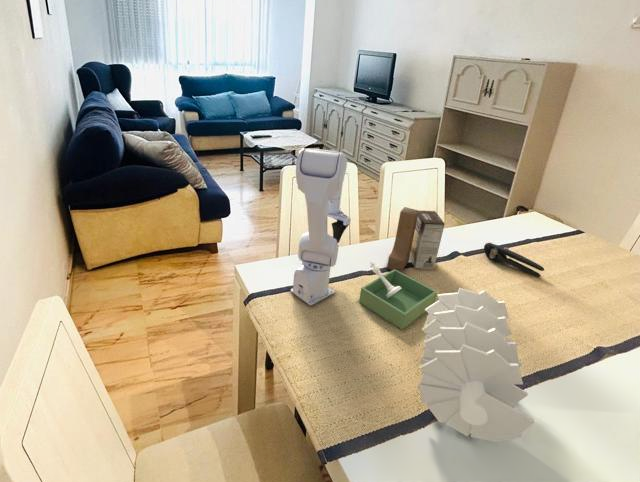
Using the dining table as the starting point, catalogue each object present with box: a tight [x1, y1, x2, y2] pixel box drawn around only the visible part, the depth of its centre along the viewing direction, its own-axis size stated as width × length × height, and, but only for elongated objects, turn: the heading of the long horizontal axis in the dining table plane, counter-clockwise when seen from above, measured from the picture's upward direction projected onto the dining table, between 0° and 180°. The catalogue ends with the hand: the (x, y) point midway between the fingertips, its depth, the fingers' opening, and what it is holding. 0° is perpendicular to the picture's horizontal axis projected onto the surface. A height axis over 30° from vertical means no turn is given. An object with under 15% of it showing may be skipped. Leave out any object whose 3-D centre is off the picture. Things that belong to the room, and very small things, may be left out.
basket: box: [358, 269, 438, 330], centre depth 102 cm, size 15×13×4 cm
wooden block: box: [386, 206, 420, 273], centre depth 117 cm, size 9×4×18 cm, turn 148°
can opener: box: [483, 242, 545, 278], centre depth 122 cm, size 18×7×6 cm, turn 41°
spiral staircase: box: [416, 287, 536, 443], centre depth 74 cm, size 18×18×25 cm
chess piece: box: [369, 261, 402, 299], centre depth 104 cm, size 5×5×10 cm
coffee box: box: [409, 210, 446, 270], centre depth 120 cm, size 9×6×16 cm
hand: (326, 237), depth 115 cm, fingers open, 7 cm apart
